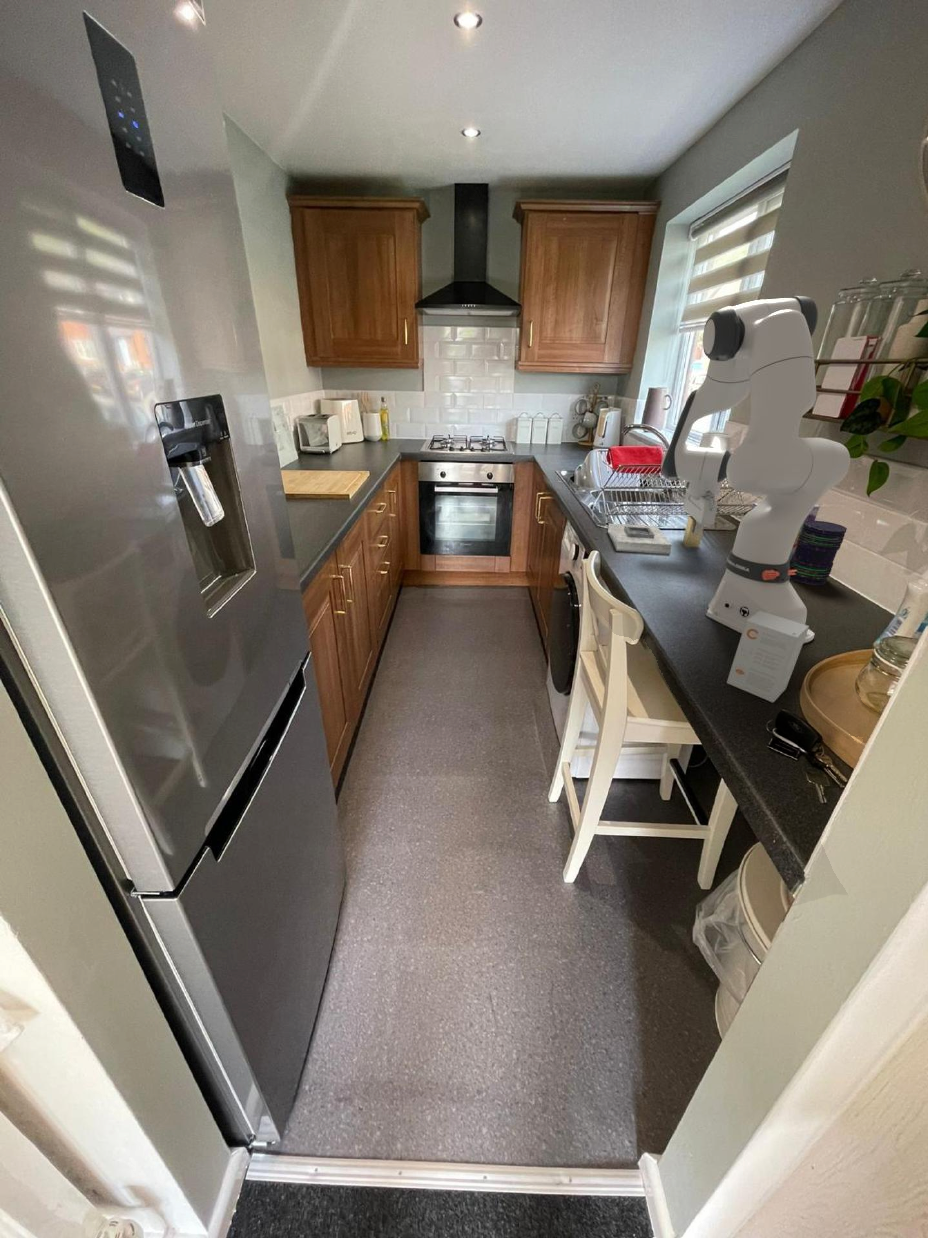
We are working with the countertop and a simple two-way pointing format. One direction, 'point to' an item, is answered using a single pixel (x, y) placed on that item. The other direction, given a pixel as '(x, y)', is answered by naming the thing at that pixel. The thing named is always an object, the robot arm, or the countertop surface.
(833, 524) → the storage jar
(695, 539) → the yellow tall rectangular block
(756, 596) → the robot arm
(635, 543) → the grey socket base
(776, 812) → the countertop surface
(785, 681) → the small box
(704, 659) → the countertop surface
